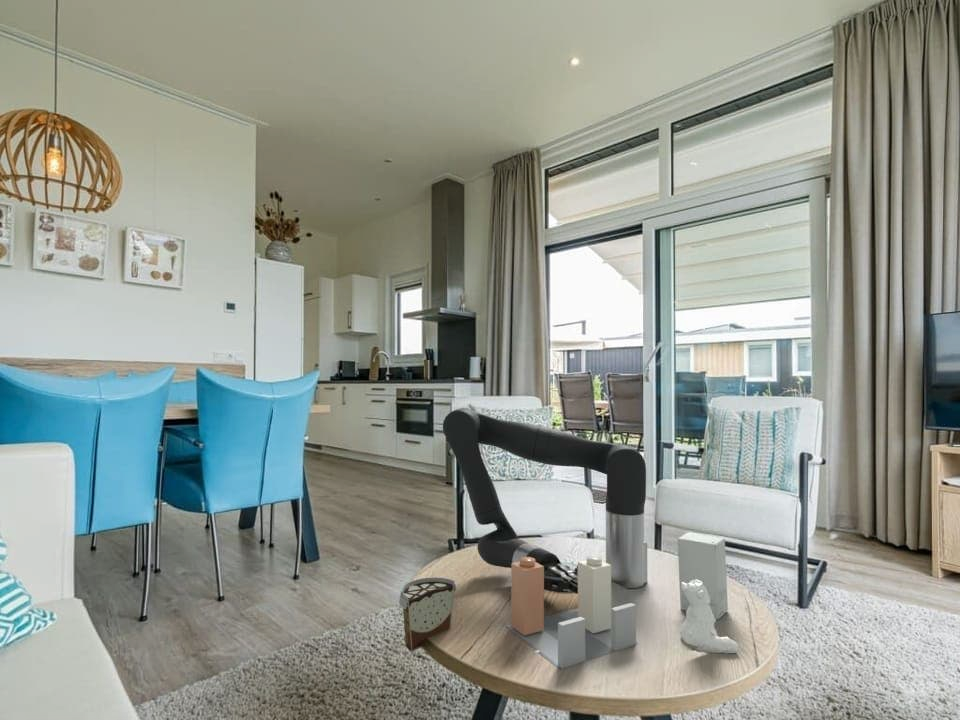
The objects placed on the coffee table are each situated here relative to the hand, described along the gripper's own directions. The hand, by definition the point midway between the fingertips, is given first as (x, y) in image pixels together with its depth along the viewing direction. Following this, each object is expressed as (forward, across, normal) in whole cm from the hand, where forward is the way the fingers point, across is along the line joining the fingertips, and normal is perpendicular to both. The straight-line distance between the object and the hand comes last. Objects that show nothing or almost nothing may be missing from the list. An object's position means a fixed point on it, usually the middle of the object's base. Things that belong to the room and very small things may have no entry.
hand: (586, 591), depth 104 cm
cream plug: (+2, 0, +6) cm, 7 cm away
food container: (-13, -30, +8) cm, 34 cm away
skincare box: (+5, +28, +8) cm, 29 cm away
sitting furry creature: (+15, +15, +8) cm, 23 cm away
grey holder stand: (+2, -6, +7) cm, 10 cm away
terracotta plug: (-3, -12, +6) cm, 14 cm away
